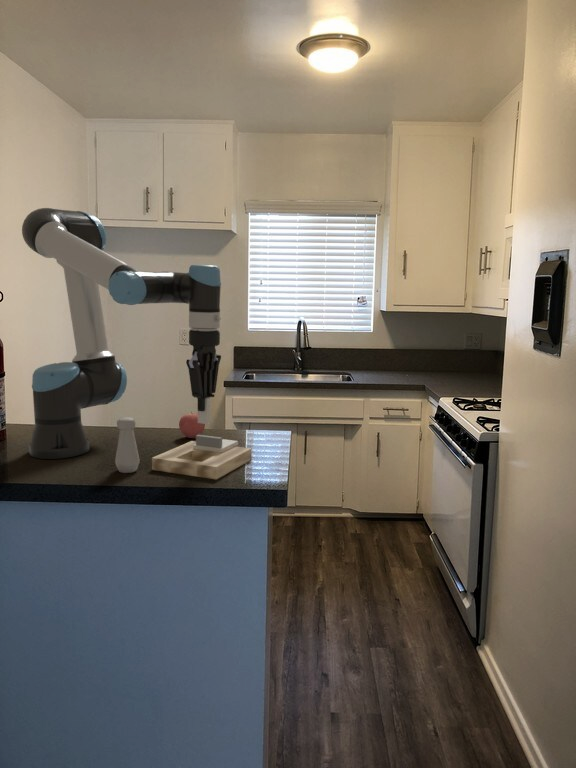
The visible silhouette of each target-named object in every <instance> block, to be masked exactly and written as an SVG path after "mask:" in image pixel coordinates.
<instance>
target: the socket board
mask: <svg viewBox="0 0 576 768" xmlns="http://www.w3.org/2000/svg"><path fill="white" fill-rule="evenodd" d="M194 444H196V440H190V441H188V442H186V443H184V444H181V445H180V446H177V447H174V448H171V449H169V450H167V451H165V452H163V453H160V454H158V455H155V456H153V457H151V470H152V471H158V472H163V473H164V472H165V473H172V474H177V475H185V476H191V477H199V478H204V479H205V478H206V479H210V480H211V479H212V480H218V479H220V478H221V477H224V476H225V475H227V474H229V473H230V472H232V471H234V470H235V469H237V468H239V467H241V466H243V465H245V464H247V463H248V462H249V461H252V448H250V447H242V446H235V447H233V448H231V449H229V450H226V451H224V452H222V453H220V452H213V451H205V450H198V449H193V445H194Z"/></svg>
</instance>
